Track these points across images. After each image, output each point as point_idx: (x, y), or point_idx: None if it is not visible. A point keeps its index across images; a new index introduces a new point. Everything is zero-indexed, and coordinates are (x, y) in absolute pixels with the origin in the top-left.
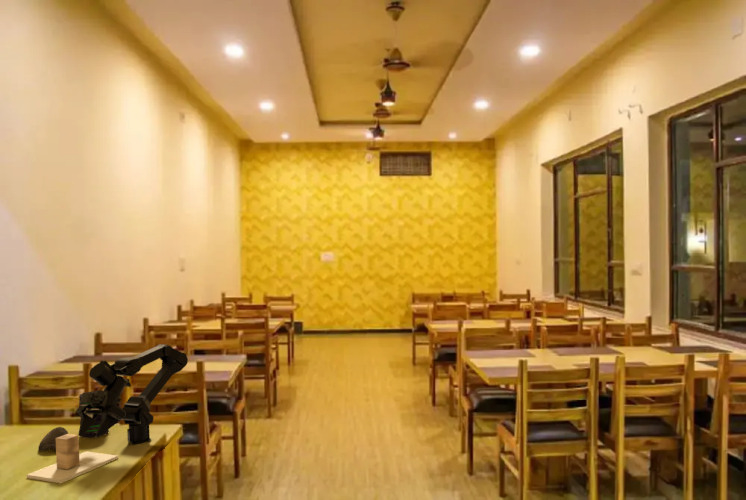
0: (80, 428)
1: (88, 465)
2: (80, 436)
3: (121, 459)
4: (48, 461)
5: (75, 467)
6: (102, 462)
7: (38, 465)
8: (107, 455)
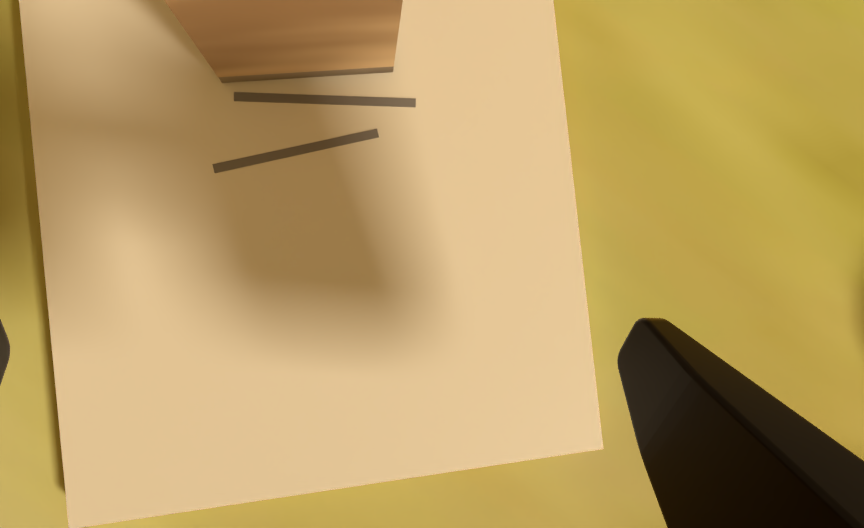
0: (754, 409)
1: (112, 121)
2: (625, 350)
3: (24, 515)
4: (756, 121)
5: None
6: (48, 274)
7: (738, 2)
8: (210, 468)
